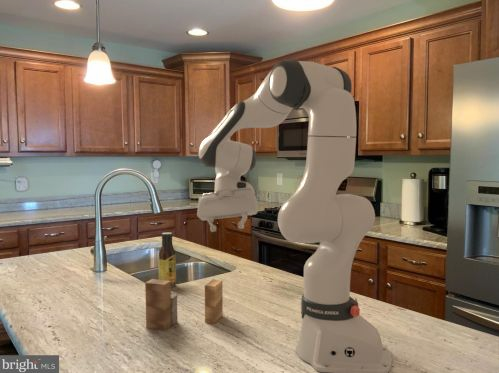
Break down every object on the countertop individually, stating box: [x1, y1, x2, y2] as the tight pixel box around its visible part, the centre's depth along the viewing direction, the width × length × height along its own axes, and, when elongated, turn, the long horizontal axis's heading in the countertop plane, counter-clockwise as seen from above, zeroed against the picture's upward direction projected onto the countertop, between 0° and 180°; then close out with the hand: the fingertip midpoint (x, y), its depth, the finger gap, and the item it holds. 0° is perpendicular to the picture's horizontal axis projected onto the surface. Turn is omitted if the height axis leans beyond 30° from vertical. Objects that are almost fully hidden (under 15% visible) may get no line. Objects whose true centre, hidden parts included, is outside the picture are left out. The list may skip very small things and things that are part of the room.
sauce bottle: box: [158, 232, 177, 288], centre depth 148 cm, size 7×6×20 cm
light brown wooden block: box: [204, 279, 224, 325], centre depth 118 cm, size 3×6×11 cm, turn 163°
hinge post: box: [144, 278, 178, 331], centre depth 114 cm, size 7×6×13 cm
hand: (226, 229), depth 127 cm, fingers open, 8 cm apart
